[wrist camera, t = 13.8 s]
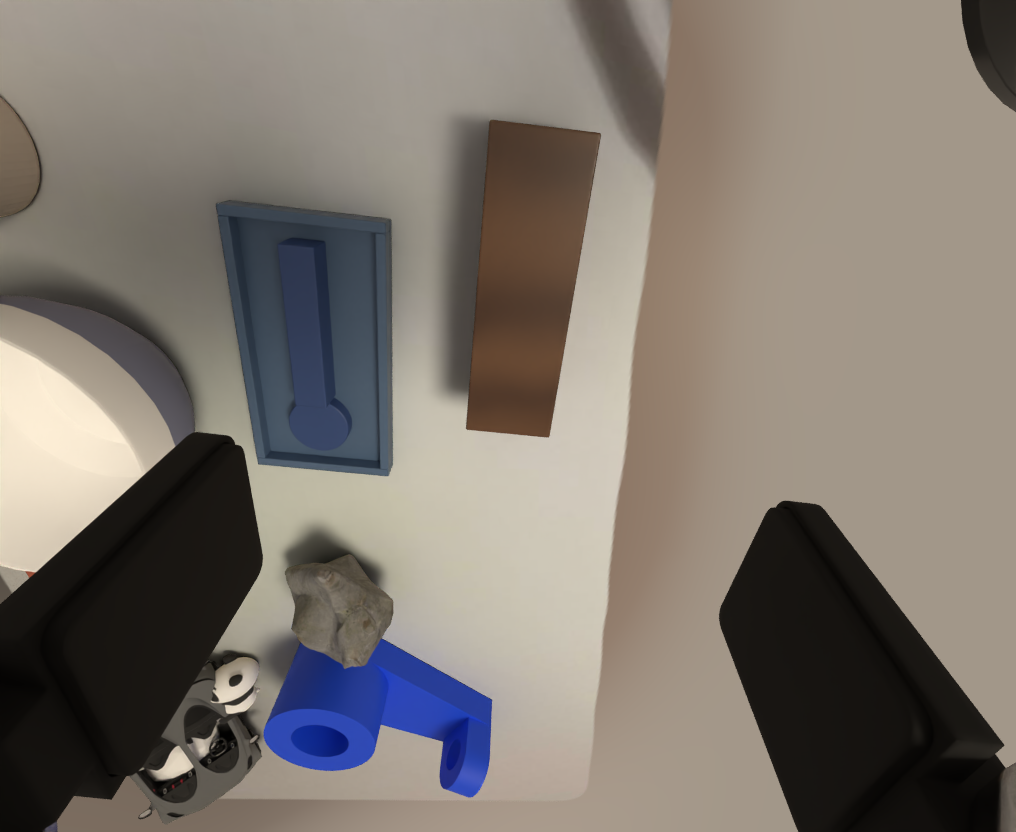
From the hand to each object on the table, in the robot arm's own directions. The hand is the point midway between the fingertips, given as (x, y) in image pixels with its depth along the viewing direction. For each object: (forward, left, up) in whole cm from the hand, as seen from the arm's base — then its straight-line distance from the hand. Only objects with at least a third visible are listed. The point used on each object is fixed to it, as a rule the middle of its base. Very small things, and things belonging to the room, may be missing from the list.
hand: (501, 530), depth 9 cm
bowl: (+11, -26, -24) cm, 37 cm away
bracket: (+41, -7, -24) cm, 48 cm away
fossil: (+27, -11, -24) cm, 38 cm away
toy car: (+47, -25, -24) cm, 58 cm away
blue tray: (+7, -12, -24) cm, 27 cm away
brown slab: (+1, +1, -24) cm, 24 cm away
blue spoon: (+7, -12, -23) cm, 27 cm away
